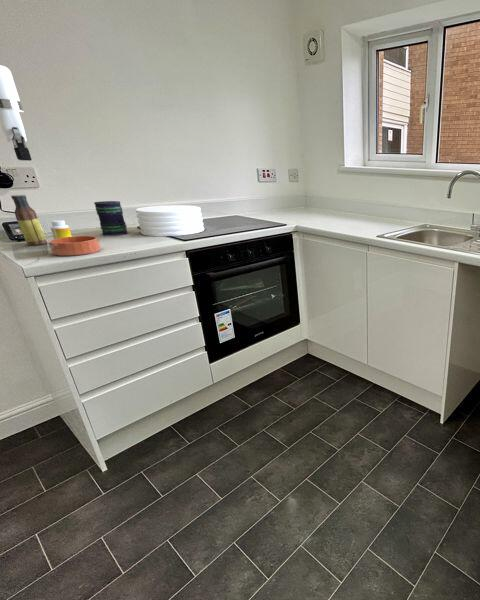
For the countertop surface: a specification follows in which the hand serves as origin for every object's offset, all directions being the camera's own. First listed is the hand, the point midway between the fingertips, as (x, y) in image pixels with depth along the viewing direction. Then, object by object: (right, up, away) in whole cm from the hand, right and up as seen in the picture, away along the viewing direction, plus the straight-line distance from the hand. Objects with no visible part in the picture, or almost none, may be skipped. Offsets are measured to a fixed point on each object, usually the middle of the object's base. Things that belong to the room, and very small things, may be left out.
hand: (24, 160), depth 126 cm
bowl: (+9, -32, +11) cm, 35 cm away
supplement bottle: (-4, -28, +20) cm, 35 cm away
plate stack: (+18, -15, +56) cm, 60 cm away
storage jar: (-4, -18, +45) cm, 49 cm away
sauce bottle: (-17, -27, +21) cm, 38 cm away
